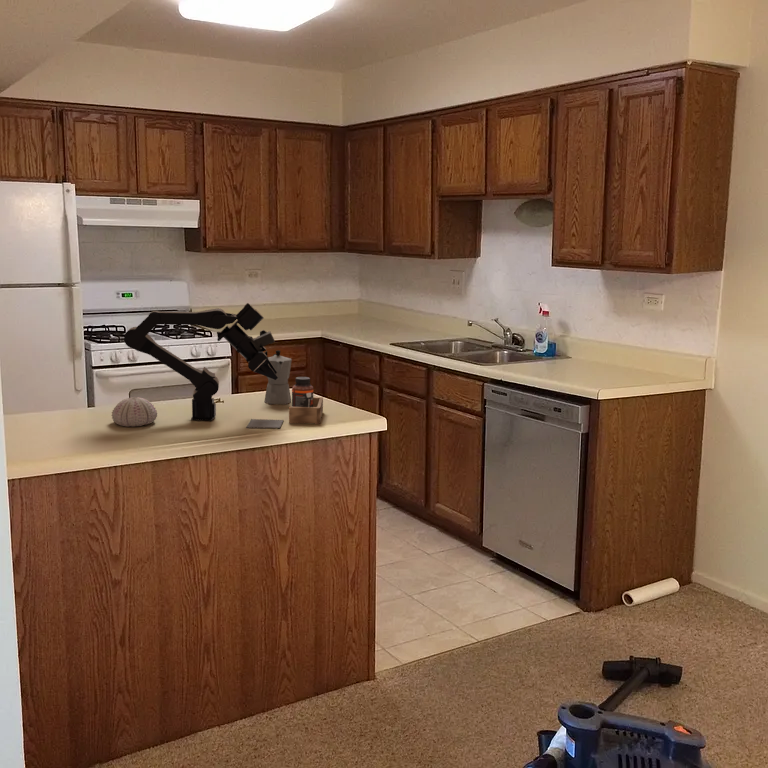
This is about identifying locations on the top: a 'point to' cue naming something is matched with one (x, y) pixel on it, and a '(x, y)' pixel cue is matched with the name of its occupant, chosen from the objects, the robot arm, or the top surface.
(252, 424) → the mat
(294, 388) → the supplement bottle
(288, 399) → the coffeepot
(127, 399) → the sea urchin shell
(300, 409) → the crate
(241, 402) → the top surface
